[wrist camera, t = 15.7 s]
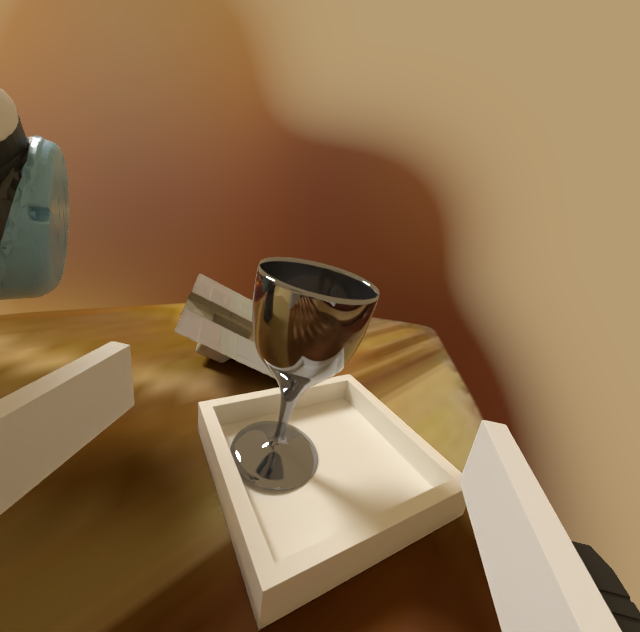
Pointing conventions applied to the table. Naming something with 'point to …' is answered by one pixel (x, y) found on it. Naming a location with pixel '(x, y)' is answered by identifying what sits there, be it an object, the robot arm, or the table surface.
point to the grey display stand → (220, 324)
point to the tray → (326, 492)
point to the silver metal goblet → (299, 357)
